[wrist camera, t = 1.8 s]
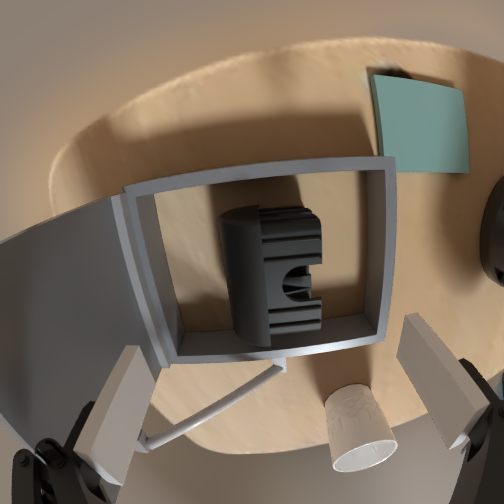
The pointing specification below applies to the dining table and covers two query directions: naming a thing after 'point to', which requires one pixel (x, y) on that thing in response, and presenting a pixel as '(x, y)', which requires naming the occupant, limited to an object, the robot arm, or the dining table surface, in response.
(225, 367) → the dining table surface
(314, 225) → the end cap
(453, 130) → the rubber pad
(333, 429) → the white cup
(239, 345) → the case
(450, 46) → the dining table surface
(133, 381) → the robot arm
